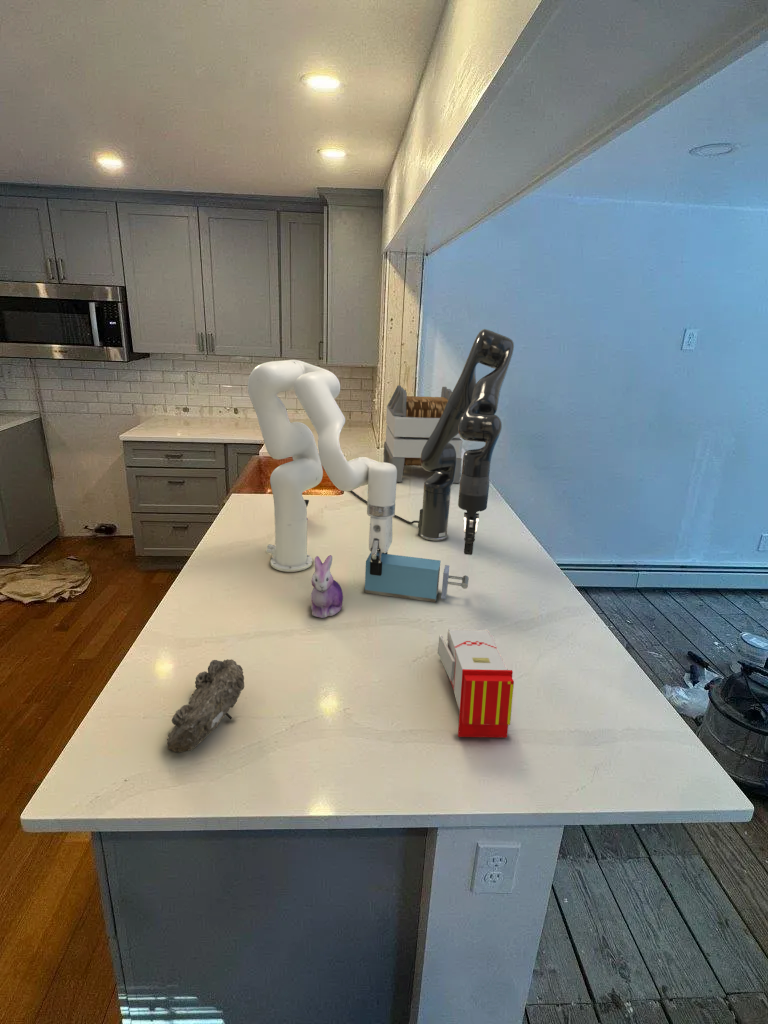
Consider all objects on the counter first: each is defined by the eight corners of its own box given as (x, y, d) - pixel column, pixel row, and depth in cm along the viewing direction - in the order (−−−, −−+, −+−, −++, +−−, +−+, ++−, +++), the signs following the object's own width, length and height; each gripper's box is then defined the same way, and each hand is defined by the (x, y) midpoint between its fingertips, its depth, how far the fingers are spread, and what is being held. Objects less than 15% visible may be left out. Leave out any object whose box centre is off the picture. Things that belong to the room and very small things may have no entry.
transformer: (382, 463, 289) (386, 382, 275) (445, 464, 293) (451, 384, 279) (390, 482, 257) (394, 392, 243) (460, 483, 261) (468, 394, 247)
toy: (488, 613, 130) (523, 677, 101) (484, 667, 133) (517, 744, 104) (435, 612, 130) (455, 676, 101) (432, 666, 133) (451, 743, 103)
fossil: (192, 660, 117) (244, 628, 112) (224, 691, 120) (276, 661, 115) (142, 746, 98) (202, 712, 93) (182, 779, 101) (242, 748, 96)
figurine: (316, 622, 141) (316, 568, 136) (302, 604, 150) (302, 552, 145) (351, 615, 146) (352, 562, 140) (335, 597, 154) (336, 546, 149)
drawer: (467, 593, 158) (469, 567, 155) (466, 602, 153) (468, 576, 151) (381, 582, 162) (383, 557, 160) (378, 590, 157) (379, 564, 155)
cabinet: (438, 591, 160) (440, 560, 157) (435, 602, 154) (438, 570, 151) (369, 582, 164) (370, 551, 160) (364, 592, 158) (365, 561, 154)
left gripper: (388, 521, 143) (385, 584, 149) (400, 500, 159) (397, 558, 166) (360, 518, 145) (358, 580, 151) (374, 497, 161) (372, 555, 167)
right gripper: (488, 500, 140) (482, 560, 145) (488, 484, 153) (482, 539, 159) (458, 497, 141) (453, 557, 146) (460, 481, 154) (455, 537, 160)
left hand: (378, 568), depth 158 cm, fingers open, 6 cm apart
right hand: (468, 547), depth 152 cm, fingers open, 8 cm apart
